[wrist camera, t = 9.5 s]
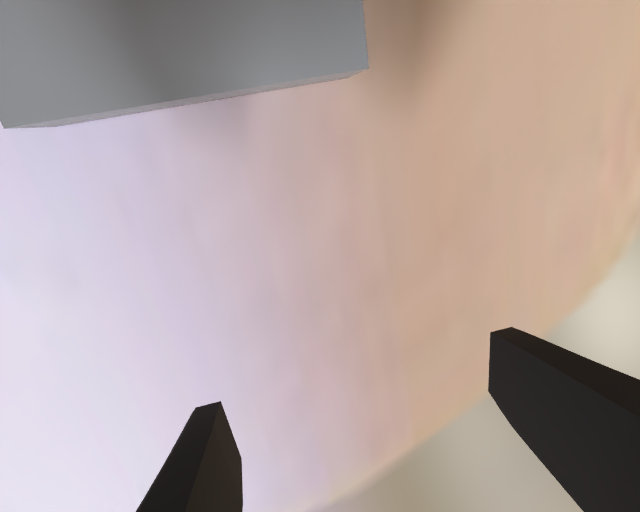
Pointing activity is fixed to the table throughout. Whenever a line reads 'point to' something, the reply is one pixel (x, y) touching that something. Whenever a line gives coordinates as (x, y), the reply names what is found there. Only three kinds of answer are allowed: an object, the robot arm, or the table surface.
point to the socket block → (165, 53)
